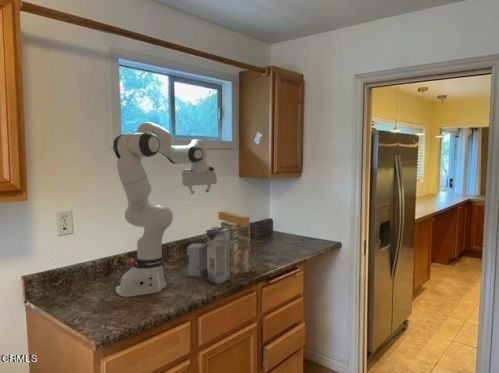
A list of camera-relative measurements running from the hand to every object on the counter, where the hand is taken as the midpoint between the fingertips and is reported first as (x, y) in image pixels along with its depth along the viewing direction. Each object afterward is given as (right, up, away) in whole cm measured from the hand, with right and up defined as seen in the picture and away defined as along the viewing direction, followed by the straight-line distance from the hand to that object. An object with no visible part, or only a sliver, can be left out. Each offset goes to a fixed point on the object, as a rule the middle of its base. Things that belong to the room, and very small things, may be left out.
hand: (199, 193), depth 213 cm
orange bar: (+19, -15, -12) cm, 27 cm away
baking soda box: (+18, -38, +27) cm, 50 cm away
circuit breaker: (+4, -42, -17) cm, 46 cm away
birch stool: (+21, -41, -11) cm, 47 cm away
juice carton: (+13, -43, -28) cm, 53 cm away
